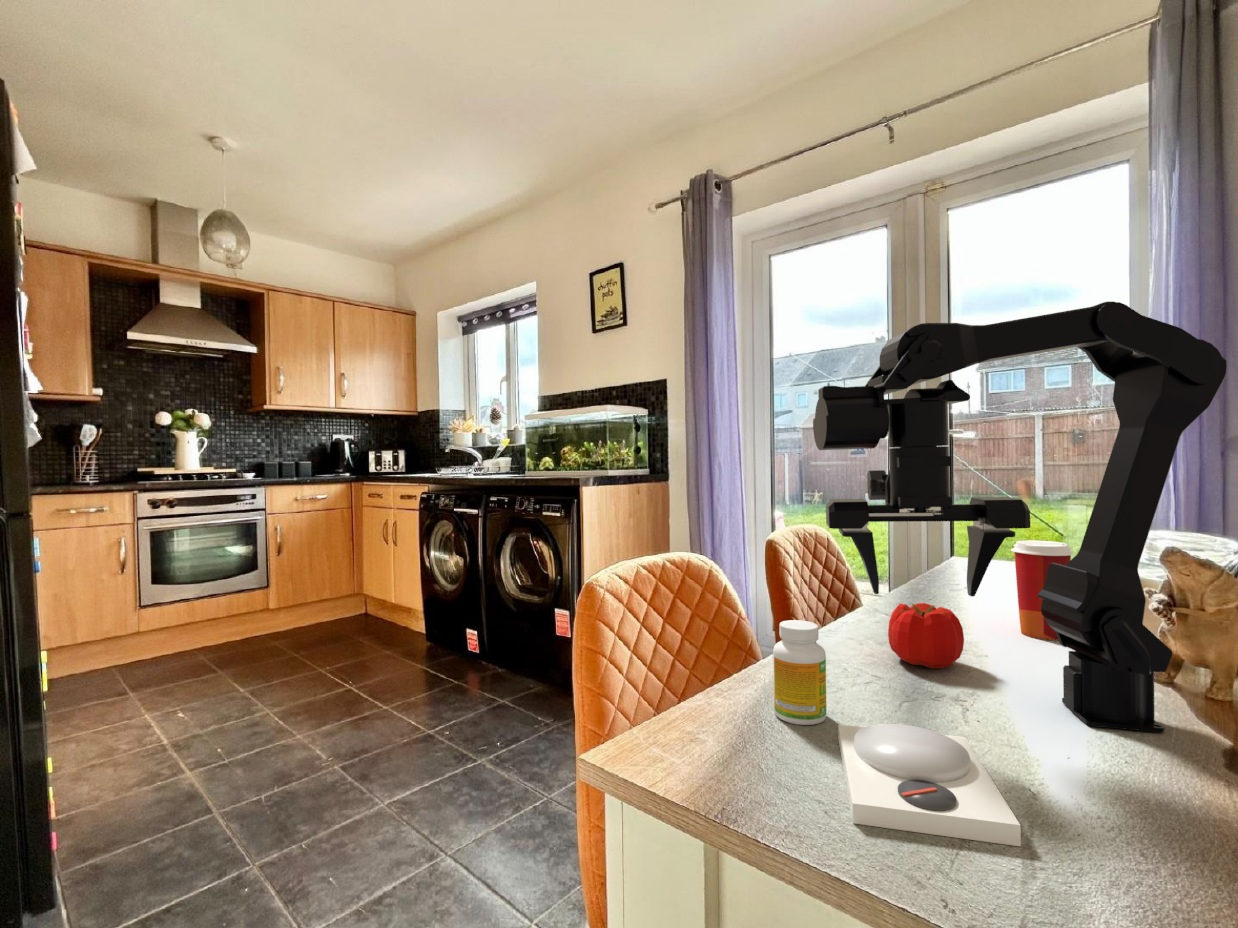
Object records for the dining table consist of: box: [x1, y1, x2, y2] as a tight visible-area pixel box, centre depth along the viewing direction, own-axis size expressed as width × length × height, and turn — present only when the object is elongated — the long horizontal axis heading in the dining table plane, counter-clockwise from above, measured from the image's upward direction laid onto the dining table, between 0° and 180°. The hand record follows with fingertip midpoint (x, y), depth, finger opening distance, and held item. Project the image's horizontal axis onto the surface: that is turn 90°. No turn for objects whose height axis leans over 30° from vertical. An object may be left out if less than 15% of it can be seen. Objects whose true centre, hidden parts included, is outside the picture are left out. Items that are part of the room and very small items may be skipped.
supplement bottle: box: [772, 619, 827, 726], centre depth 65 cm, size 5×5×10 cm
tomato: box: [887, 602, 965, 670], centre depth 81 cm, size 9×9×8 cm
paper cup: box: [1010, 539, 1074, 641], centre depth 93 cm, size 8×8×14 cm
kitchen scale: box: [837, 723, 1022, 847], centre depth 51 cm, size 11×14×2 cm
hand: (922, 594), depth 64 cm, fingers open, 9 cm apart
